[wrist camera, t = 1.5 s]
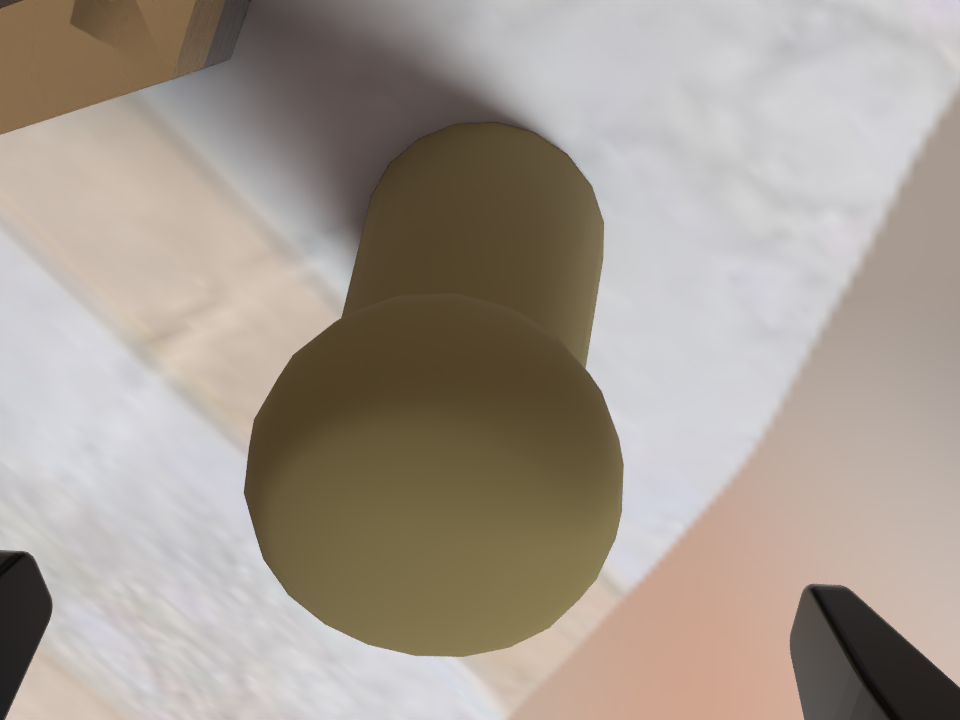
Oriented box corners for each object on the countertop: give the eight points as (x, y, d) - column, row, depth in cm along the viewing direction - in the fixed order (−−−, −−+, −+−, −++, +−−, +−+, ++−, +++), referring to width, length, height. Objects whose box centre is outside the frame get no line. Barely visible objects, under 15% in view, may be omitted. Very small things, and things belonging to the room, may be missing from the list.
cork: (363, 336, 20) (196, 694, 10) (366, 107, 17) (135, 315, 7) (583, 362, 20) (620, 749, 10) (626, 136, 17) (735, 387, 7)
